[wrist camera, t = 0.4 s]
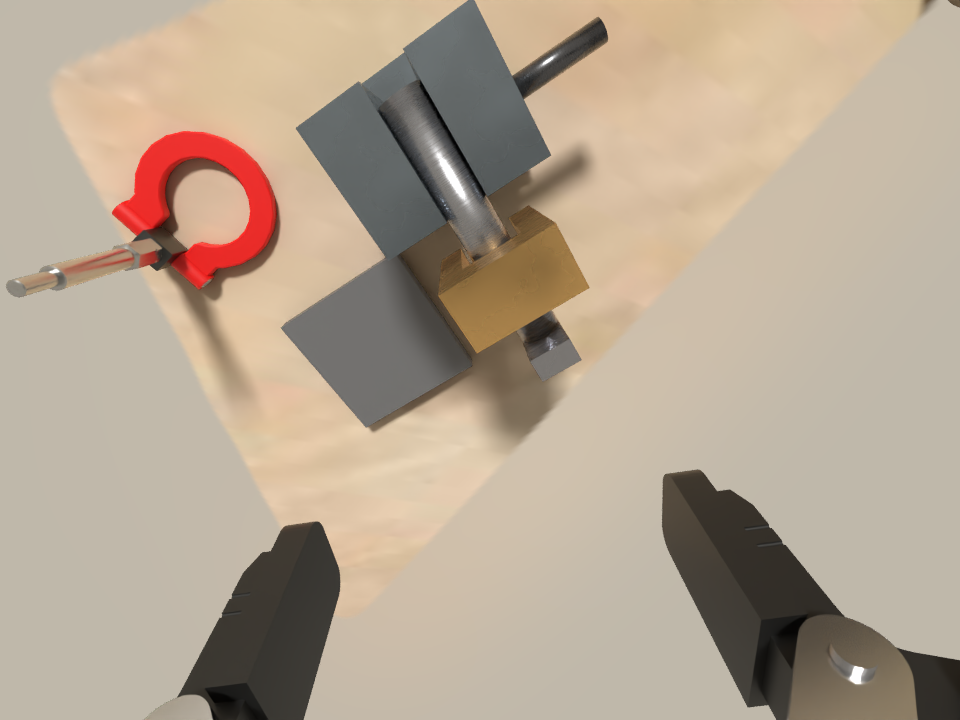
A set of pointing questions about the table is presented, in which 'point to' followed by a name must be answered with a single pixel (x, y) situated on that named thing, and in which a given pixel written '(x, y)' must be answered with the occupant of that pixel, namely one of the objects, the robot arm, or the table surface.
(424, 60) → the vise
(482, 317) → the ochre slotted block
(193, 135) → the tow hook
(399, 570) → the table surface
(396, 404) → the rubber mat
